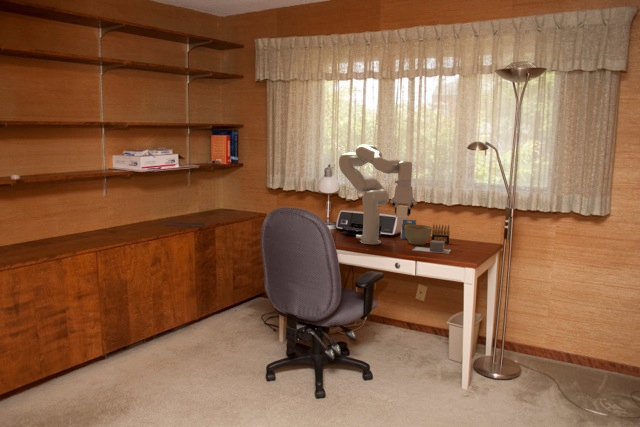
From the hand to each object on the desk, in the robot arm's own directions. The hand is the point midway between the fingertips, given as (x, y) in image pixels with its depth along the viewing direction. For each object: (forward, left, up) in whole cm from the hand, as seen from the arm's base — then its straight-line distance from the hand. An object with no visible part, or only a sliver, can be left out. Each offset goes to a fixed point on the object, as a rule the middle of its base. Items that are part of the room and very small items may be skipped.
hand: (402, 214), depth 320 cm
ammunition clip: (+18, +29, -20) cm, 40 cm away
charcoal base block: (+20, 0, -19) cm, 28 cm away
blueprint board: (+17, 0, -20) cm, 26 cm away
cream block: (0, 0, -1) cm, 1 cm away
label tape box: (-3, +36, -20) cm, 41 cm away
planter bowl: (+6, +18, -20) cm, 27 cm away
